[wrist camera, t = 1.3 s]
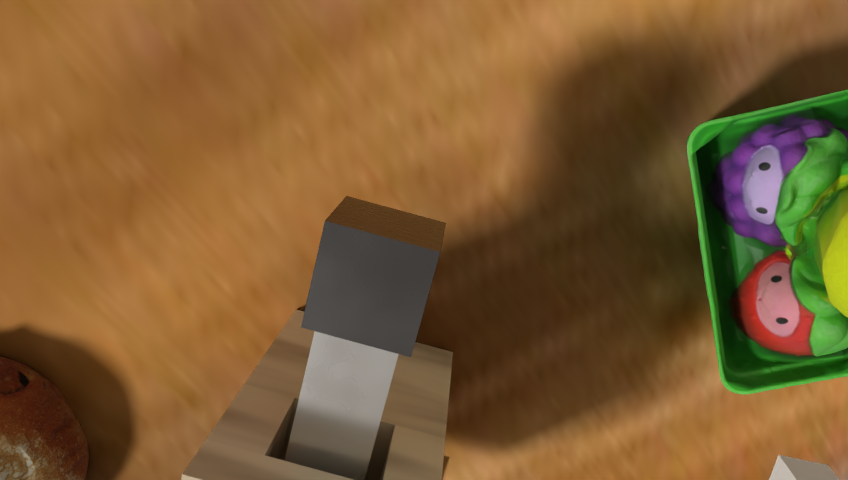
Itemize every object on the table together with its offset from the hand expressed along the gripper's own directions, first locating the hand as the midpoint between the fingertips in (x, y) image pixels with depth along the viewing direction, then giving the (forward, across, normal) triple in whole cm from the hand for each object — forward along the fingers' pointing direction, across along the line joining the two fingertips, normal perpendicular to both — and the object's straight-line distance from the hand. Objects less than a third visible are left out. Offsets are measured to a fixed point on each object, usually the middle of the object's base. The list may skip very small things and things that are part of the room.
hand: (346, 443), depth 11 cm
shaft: (+14, -1, -8) cm, 17 cm away
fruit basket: (+23, +15, +1) cm, 28 cm away
